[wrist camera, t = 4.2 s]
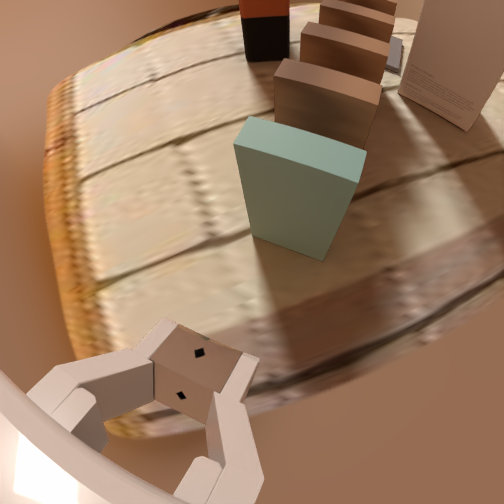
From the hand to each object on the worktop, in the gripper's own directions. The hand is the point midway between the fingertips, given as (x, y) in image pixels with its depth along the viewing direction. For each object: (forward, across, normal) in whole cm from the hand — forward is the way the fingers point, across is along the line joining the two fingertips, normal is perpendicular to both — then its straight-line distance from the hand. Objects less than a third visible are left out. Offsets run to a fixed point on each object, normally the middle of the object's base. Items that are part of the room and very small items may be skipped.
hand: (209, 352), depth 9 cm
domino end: (+13, 0, +2) cm, 13 cm away
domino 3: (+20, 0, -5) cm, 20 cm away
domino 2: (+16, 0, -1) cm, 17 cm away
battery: (+28, +10, -12) cm, 32 cm away
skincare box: (+28, -9, -12) cm, 31 cm away
